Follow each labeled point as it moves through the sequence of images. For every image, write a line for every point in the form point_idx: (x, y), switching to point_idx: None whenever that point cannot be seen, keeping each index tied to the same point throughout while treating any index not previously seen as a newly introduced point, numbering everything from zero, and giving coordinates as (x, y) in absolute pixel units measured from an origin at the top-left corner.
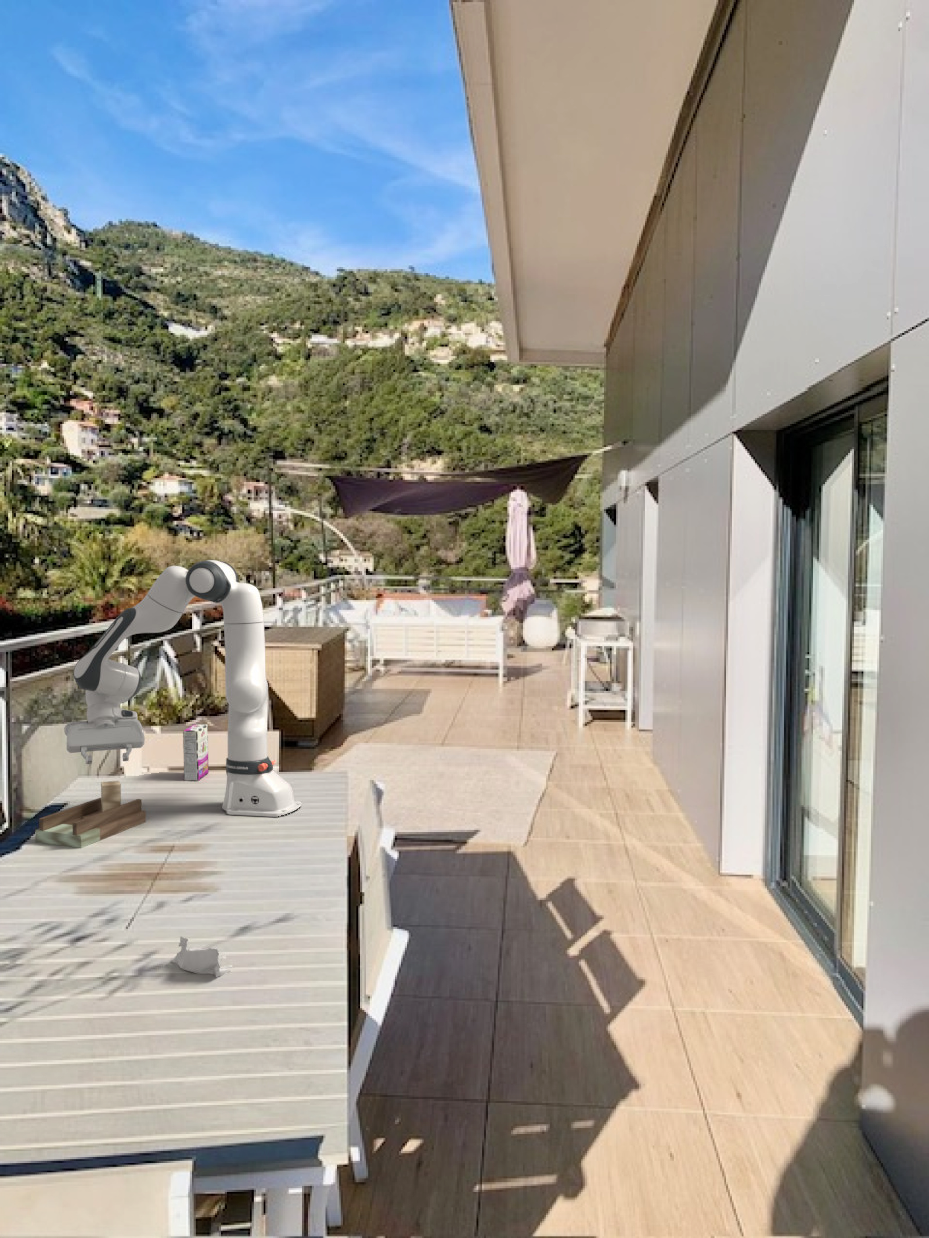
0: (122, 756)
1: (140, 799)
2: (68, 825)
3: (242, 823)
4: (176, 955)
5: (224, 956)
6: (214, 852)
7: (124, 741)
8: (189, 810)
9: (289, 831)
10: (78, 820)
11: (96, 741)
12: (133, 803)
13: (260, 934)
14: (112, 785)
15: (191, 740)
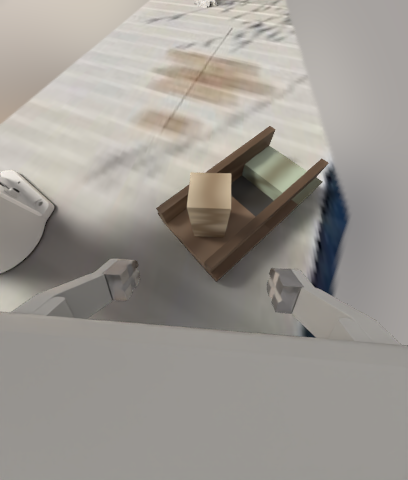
0: (127, 295)
1: (157, 208)
2: (276, 184)
3: (65, 167)
4: (215, 1)
5: (195, 2)
6: (138, 102)
7: (31, 319)
8: (83, 255)
9: (46, 127)
10: (267, 135)
11: (294, 362)
12: (174, 196)
13: (171, 13)
14: (209, 173)
15: None
